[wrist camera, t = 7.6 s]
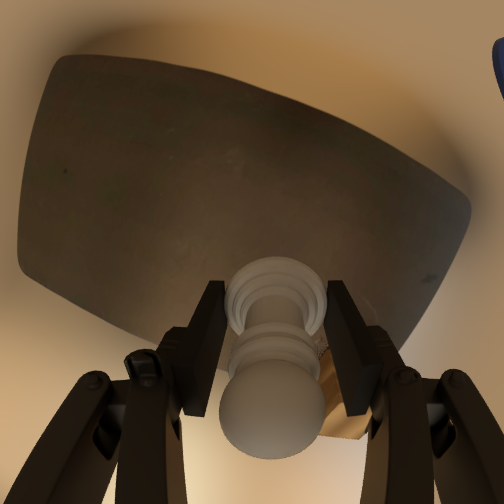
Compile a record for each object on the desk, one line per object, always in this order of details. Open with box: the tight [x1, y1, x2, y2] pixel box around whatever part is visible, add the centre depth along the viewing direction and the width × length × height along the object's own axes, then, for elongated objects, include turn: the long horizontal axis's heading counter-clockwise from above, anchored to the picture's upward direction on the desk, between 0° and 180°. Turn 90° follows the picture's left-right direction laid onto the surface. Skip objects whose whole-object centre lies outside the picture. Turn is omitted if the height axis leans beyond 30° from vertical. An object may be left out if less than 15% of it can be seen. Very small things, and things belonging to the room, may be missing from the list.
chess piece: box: [219, 257, 327, 459], centre depth 10 cm, size 5×5×9 cm
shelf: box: [317, 349, 372, 439], centre depth 38 cm, size 9×8×12 cm
